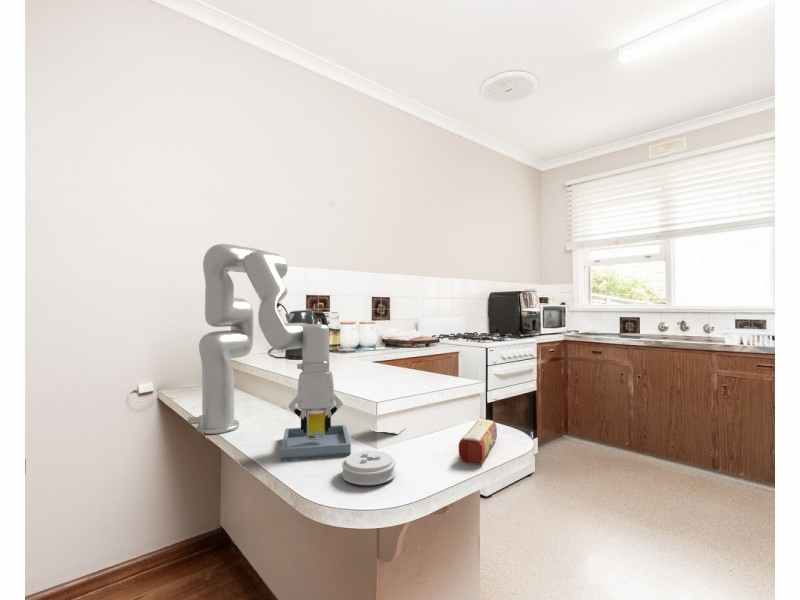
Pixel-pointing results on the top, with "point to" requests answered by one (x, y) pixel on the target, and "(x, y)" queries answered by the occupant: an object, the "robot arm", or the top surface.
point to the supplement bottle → (315, 424)
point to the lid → (368, 468)
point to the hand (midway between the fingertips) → (315, 430)
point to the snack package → (478, 442)
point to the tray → (315, 444)
